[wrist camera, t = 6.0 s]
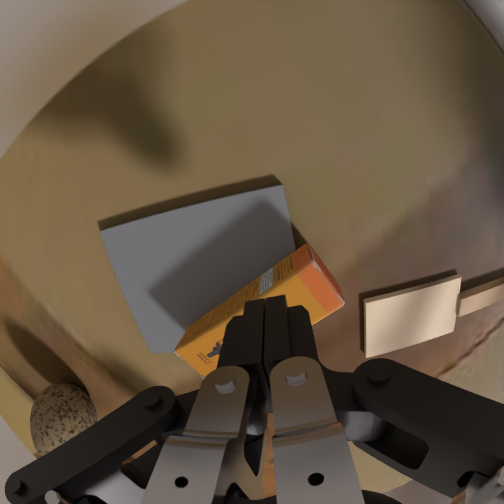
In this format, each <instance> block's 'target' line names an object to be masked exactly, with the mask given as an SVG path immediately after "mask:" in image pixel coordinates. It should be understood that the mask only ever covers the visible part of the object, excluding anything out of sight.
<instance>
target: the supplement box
mask: <svg viewBox="0 0 504 504" xmlns="http://www.w3.org/2000/svg"><path fill="white" fill-rule="evenodd" d="M284 294H285V296H286V300H287V305H288V307H292V306H297V305H302V306H303V307H304V308H306V309H307V310H308V311H309V315H310V320H311V325H313V324H315V323H317V322H318V321H320V320H322V319H323V318H325V317H326V316H328V315H330V314H331V313H333V312H335V311H336V310H338V309H339V308H341V307H342V306H343V305H344V304H345V301H344V298H343V295H342V292H341V290H340V288H339V286H338V284H337V282H336V281H335V279H334V277H333V276H332V275H331V273H330V272H329V271H328V269H327V268H326V266H325V265H324V264H323V262H322V261H321V259H320V258H319V257H318V255H317V254H316V253H315V251H314V250H313V249H312V247H311V246H310V244H309V243H306V244H304V245H303V246H301V247H300V248H298V249H297V250H296V251H294V252H293V253H291V254H290V255H288V256H287V257H286V258H284V259H283V260H281V261H280V262H279V263H277V264H276V265H274V266H273V267H272V268H270V269H269V270H267V271H266V272H265V273H263V274H262V275H261V276H259V277H258V278H256V279H255V280H254V281H252V282H251V283H249V284H248V285H246V286H245V287H244V288H242V289H241V290H240V291H238V292H237V293H235V294H234V295H232V296H231V297H230V298H228V299H227V300H225V301H224V302H222V303H221V304H220V305H218V306H217V307H215V308H214V309H212V310H211V311H210V312H208V313H207V314H205V315H204V316H202V317H201V318H199V319H198V320H197V321H195V322H194V323H192V324H191V325H190V326H188V327H187V329H186V331H185V333H184V335H183V336H182V338H181V340H180V341H179V343H178V344H177V346H176V347H175V349H174V351H175V354H176V355H177V356H178V357H180V358H181V359H183V360H184V361H186V362H187V363H188V364H189V365H190V366H191V367H192V368H194V369H195V370H196V371H197V372H198V373H200V375H201V377H202V378H203V379H204V378H205V377H206V376H207V375H208V374H209V373H210V372H212V371H213V370H215V369H216V368H217V363H218V359H219V355H220V350H221V346H222V344H223V342H222V341H223V337H224V333H225V328H226V325H227V324H228V322H229V321H230V320H231V319H232V317H233V316H238V315H243V311H244V305H245V301H250V300H256V299H262V298H265V300H266V298H267V297H273V296H278V295H284Z"/></svg>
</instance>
